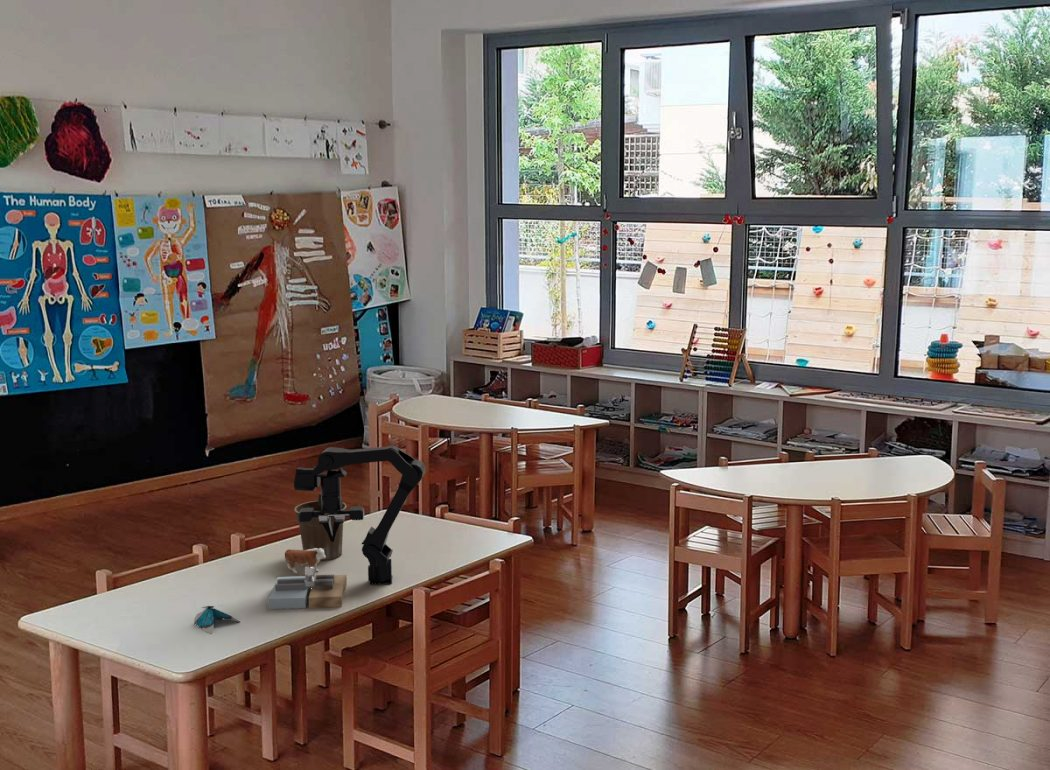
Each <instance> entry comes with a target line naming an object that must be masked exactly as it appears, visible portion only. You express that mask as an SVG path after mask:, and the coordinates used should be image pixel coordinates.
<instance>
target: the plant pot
mask: <svg viewBox="0 0 1050 770" xmlns="http://www.w3.org/2000/svg"><path fill="white" fill-rule="evenodd" d="M302 508H314V511H322V505H319V503H318V500H313V501H311V500H310V501H308V502H303V503H301V504H298V505H296V506H295V507H294V510H293V511H294V512H295V514H296V521H297V523H298V526H299V532H300V538H301V545H302V550H309V549H314V548H317V549H319V548H322V549H324V548H325V550H324V554H325V556H326V558H325V559H320V562H323V561H324V562H326V560H327V561H330V560H331V559H332V560H334V559H337V558H339V557H340V556H342V555H343V538H344V537H343V536H344V535H343V534H344V533H343V531H344V523H341V524H340V525H339V528H338V530H337V533H336V537H335V540H334V542H331V540H330V538H329V536H328V534H327V531H326V530H325V528H324V526H323V525H322V524H319V517H313V518H312V520H311V521H310V522H299V512H300V510H301V509H302ZM341 510H347V504H346V503H345V502H343V501H342V509H341ZM335 514H336V513H335ZM330 519H331V528H332V534H333V524H334V519H335V517H330Z"/></svg>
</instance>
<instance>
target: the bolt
mask: <svg viewBox="0 0 1050 770" xmlns="http://www.w3.org/2000/svg"><path fill="white" fill-rule="evenodd" d="M304 570H305V571H304V572H305V573H304V576H305V577H306V579H305V581H304V587H315V584H314V581H315V580H332V579H333V578H327V579H315V568H314V566H309V565H306V566H305V567H304Z"/></svg>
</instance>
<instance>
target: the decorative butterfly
mask: <svg viewBox="0 0 1050 770" xmlns="http://www.w3.org/2000/svg"><path fill="white" fill-rule="evenodd" d="M219 606H222V605H219ZM200 608H201V609H203V610H202V611H200V612H199V613H197V614H196V615H195V617H194V619H193V624H194V625H195V624H196V625H195V626H197V625H198V626H199V627H198V626H197V627H198V628H200V627H201V629H202V630H204V631H205V630H206V632H207V631H208V632H207V633H208V634H210V635H212V634H213V632H214V626H215V625H214V624H215V622H214V621H215V620H214V619H218V618H219V620H225V619H226V621H230V620H231V621H232V622H236V621H237V623H241V621H240V620H239V619H238V618H236V617H234V616H232V615H231V614H229V613H226V612H223V611H221V610H219V609H216V608H215V605H207V606H206V605H205V606H202V607H200ZM213 617H214V618H213Z"/></svg>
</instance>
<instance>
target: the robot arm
mask: <svg viewBox="0 0 1050 770" xmlns="http://www.w3.org/2000/svg"><path fill="white" fill-rule="evenodd" d="M317 458H318V459H317V462H318V463H317V464H316V465H315V466H314V467H310V468H309V467H306V468H305V467H297V468H296V469H295V475H294V481H293V487H294V491H295V492H315V491H317V488H320V494H318V500H317V501H318V503H319V505H322V511H314V508H302V509H301V510H300V512H299V522H310V521H311V520H312V518H313V517H319V524H322V525H323V526H324V528H325V530H326V531H327V534H328V536H329V538H330V540H331V542H334V540H335V537H336V533H337V530H338V528H339V525H340V524H341V523H343V524H344V523H345V519H346V517H349V519H350V520H351V521H362V520H364V517H365V508H364V507H363V505H362V506H361V505H356V506H352V505H351V506H350V508H349V509H345V510H341V509H342V502H343V499H342V498H343V497H342V490H341V489H342V487H341V478H344V477H346V475H347V474H348V472H347V471H346V470H344V469H343V467H346V466H349V465H357V464H366V463H378V462H389V463H390V464H391V465H392V466H393V467H394V468H395V469H396V470H397V472H399V473H400V474H401V477H400V481H399V483H398V487H397V490H396V492H395V493H394V496H393V497H392V500H391V501H390V503H389V504H388V506H387V508H386V511H385V513H384V514H383V516H382V518H381V519H380V521H379V523H378V525H377V527H376V528H374V527H373V526H371V527H370V528H369V530H368V532H367V533H366V536H365V538H364V539H363V540H362V542H361V545H362V547H361V552H362V555H363V556H364V557H365V558H366V559H367V560H368V563H369V565H368V566H367V575H368V576H367V579H368V581H369V585H390V584H392V583H393V578H394V577H393V573H392V572H393V570H392V569H393V568H392V566H393V564H392V558H391V557H392V554H393V549H392V548H391V547H389V545H387V541H388V537H389V534H390V530H391V529H392V526H393V525H394V523H395V521H396V519H397V517H398V515H399V514H400V512H401V510H402V508H403V506H404V505H405V503H406V500H407V498H408V497H409V495H410V493H411V492H413V490H415V488H416V486H417V485H418V484H419V482H420V481H422V478H423V477H424V476H425V474H426V469H427V468H426V464H424V462H422V460H421V459H420V460H419V459H415V458H414V457H413V456H412V455H410V454H409V453H406V452H405V451H403V450H401V449H400V448H399V447H398V446H397V445H393V444H392V445H389V446H379V447H368V448H356V449H347V448H344V447H334V446H332V447H331V446H330V447H327V448H326V449H324V450H323V451H322V452H321V453H320V455H319V456H318V457H317ZM324 471H325V472H324ZM326 471H327V472H326ZM335 513H336V514H335ZM330 517H335V519H334V524H333V534H332V528H331V519H330Z"/></svg>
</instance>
